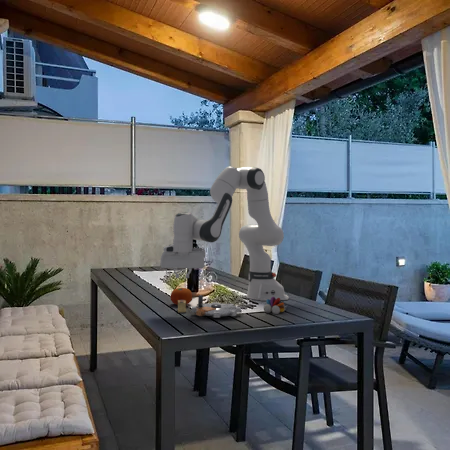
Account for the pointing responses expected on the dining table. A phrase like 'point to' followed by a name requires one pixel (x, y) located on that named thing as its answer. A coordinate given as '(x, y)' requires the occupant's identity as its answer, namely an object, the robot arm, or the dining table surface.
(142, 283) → the dining table surface
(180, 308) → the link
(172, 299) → the fruit
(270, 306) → the multicoloured rounded cluster
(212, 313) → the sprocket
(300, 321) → the dining table surface
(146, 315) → the dining table surface
